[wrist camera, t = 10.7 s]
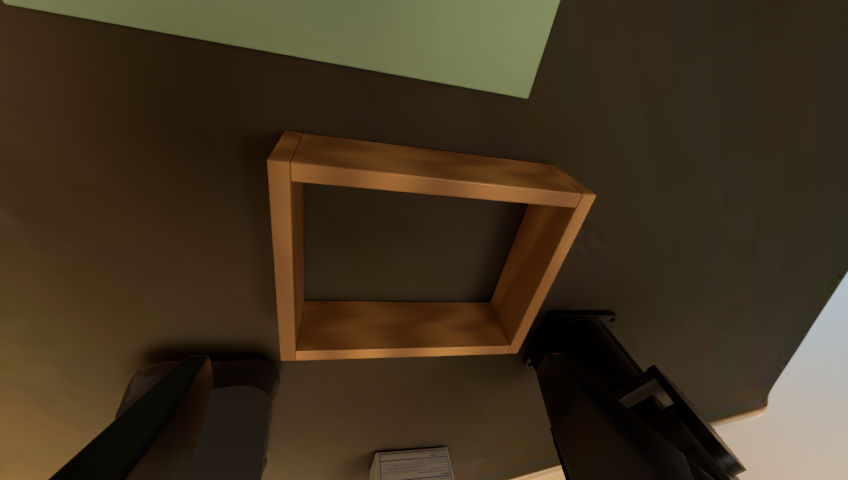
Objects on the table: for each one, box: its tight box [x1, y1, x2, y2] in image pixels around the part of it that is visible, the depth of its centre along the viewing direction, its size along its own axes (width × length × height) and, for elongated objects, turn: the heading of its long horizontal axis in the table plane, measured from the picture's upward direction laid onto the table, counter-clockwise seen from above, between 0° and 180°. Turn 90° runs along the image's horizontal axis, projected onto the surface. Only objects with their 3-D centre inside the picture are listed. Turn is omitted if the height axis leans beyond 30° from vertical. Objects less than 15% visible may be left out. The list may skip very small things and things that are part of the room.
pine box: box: [267, 130, 596, 361], centre depth 19 cm, size 15×12×4 cm
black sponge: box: [115, 359, 280, 480], centre depth 25 cm, size 16×8×4 cm, turn 161°
